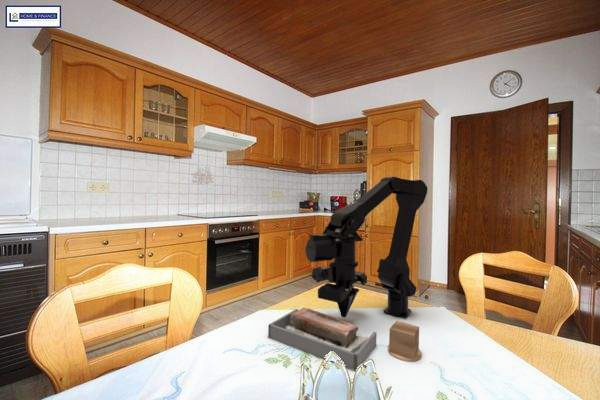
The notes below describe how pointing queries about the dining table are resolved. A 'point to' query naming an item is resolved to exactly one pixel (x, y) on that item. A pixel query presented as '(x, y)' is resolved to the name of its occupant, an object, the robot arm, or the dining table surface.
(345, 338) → the packaged product
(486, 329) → the dining table surface
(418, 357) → the coaster
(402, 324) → the block
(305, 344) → the bin
